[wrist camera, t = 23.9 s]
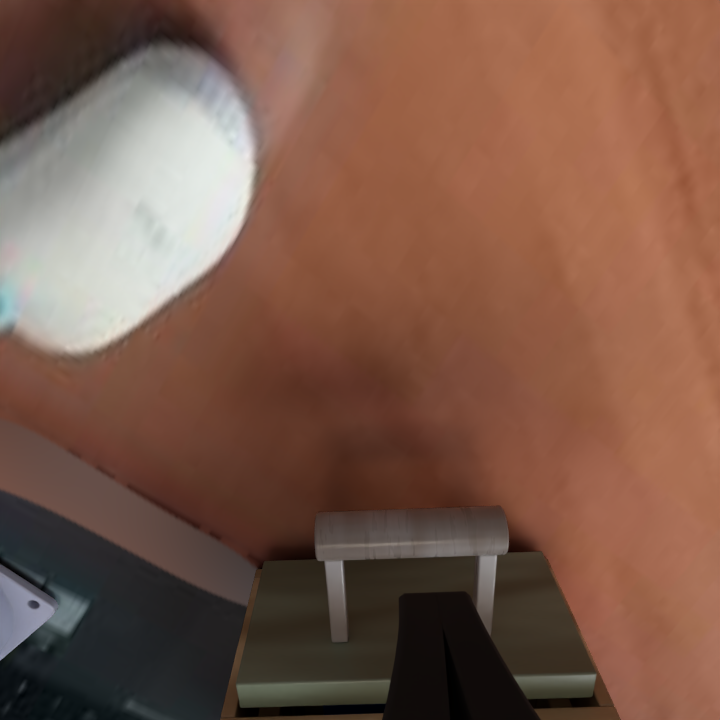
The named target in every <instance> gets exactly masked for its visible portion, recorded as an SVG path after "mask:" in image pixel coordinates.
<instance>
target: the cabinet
mask: <svg viewBox="0 0 720 720" xmlns="http://www.w3.org/2000/svg"><path fill="white" fill-rule="evenodd" d="M546 562H547V564H548V566H549V568H550V570H551V573H552V575H553V577H554V579H555V582H556V584H557V586H558V588H559V590H560V593H561V595H562V597H563V599H564V602H565V604H566V606H567V608H568V610H569V613H570V615H571V617H572V619H573V622H574V624H575V626H576V628H577V630H578V633H579V635H580V637H581V639H582V642H583V644H584V646H585V648H586V650H587V653H588V655H589V657H590V659H591V662H592V664H593V666H594V668H595V670H596V673H597V675H596V681H595V686H594V691H593V696H592V697H586V698H569V700H570V703H571V705H572V708H540V709H534V710H535V712H536V713H537V715H538V716H539V718H540V719H541V720H621V719H620V717H619V715H618V713H617V710H616V708H615V707H614V704H613V702H612V699H611V697H610V695H609V693H608V691H607V688H606V686H605V684H604V682H603V680H602V677H601V675H600V673H599V671H598V669H597V666H596V664H595V662H594V660H593V658H592V655H591V653H590V651H589V649H588V647H587V645H586V642H585V640H584V638H583V636H582V634H581V631H580V629H579V627H578V625H577V623H576V620H575V618H574V616H573V614H572V612H571V609H570V607H569V605H568V603H567V601H566V598H565V596H564V594H563V592H562V590H561V587H560V585H559V583H558V581H557V579H556V576H555V574H554V572H553V570H552V568H551V566H550V563H549V561H548V560H547V559H546ZM261 572H262V569H257V570H256V573H255V579H254V582H253V586H252V590H251V594H250V598H249V602H248V606H247V610H246V614H245V619H244V623H243V627H242V631H241V635H240V639H239V643H238V647H237V651H236V656H235V660H234V664H233V668H232V672H231V676H230V680H229V684H228V688H227V693H226V697H225V701H224V705H223V709H222V713H221V719H220V720H382V718H383V714H384V713H374V714H341V715H308V716H275V717H258V713H259V707H258V708H241V707H240V703H239V698H238V693H237V688H236V681H237V676H238V672H239V668H240V663H241V659H242V655H243V650H244V646H245V642H246V637H247V633H248V629H249V624H250V620H251V615H252V611H253V607H254V602H255V598H256V594H257V589H258V585H259V581H260V576H261Z"/></svg>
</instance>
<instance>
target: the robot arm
mask: <svg viewBox="0 0 720 720" xmlns="http://www.w3.org/2000/svg"><path fill="white" fill-rule="evenodd" d="M57 609H58V603H57V601H56V600H55V599H54V598H52V597H51V596H49V595H48V594H46V593H45V592H43V591H41V590H40V589H38V588H37V587H35V586H34V585H32V584H31V583H29V582H28V581H26V580H25V579H23V578H21V577H20V576H18V575H17V574H15V573H14V572H12V571H11V570H9V569H8V568H6V567H5V566H3V565H2V564H0V660H1V659H2V658H4V657H5V656H6V655H7V654H8V653H9V652H11V651H12V650H13V649H14V648H15V647H17V646H18V645H19V644H20V643H21V642H22V641H24V640H25V639H26V638H27V637H28V636H29V635H31V634H32V633H33V632H34V631H35V630H37V629H38V628H39V627H40V626H41V625H42V624H44V623H45V622H46V621H47V620H48V619H49V618H51V617H52V616H53V615H54V613H55V612H56V610H57ZM382 720H541V719H540V718H539V716H538V715H537V713H536V712H535V710H534V709H533V707H532V706H531V704H530V702H529V701H528V699H527V698H526V696H525V694H524V693H523V691H522V690H521V688H520V686H519V685H518V683H517V681H516V680H515V678H514V677H513V675H512V673H511V672H510V670H509V668H508V667H507V665H506V663H505V662H504V660H503V658H502V657H501V655H500V653H499V651H498V649H497V648H496V646H495V644H494V642H493V641H492V639H491V637H490V635H489V633H488V631H487V629H486V627H485V626H484V624H483V622H482V620H481V618H480V616H479V614H478V612H477V609H476V607H475V605H474V603H473V601H472V598H471V596H470V595H469V594H468V593H467V592H465V591H456V592H427V593H404V594H403V595H401V596H400V597H399V629H398V639H397V646H396V654H395V660H394V666H393V671H392V676H391V681H390V686H389V692H388V697H387V701H386V706H385V710H384V714H383V718H382Z"/></svg>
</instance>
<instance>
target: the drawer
mask: <svg viewBox="0 0 720 720" xmlns="http://www.w3.org/2000/svg"><path fill="white" fill-rule="evenodd" d="M314 538H315V554H316V558H317V559H309V560H280V561H264V563H263V568H262V572H261V576H260V581H259V585H258V589H257V594H256V598H255V602H254V607H253V611H252V615H251V620H250V624H249V629H248V633H247V637H246V642H245V646H244V650H243V655H242V659H241V663H240V668H239V672H238V676H237V681H236V688H237V693H238V698H239V703H240V707H241V708H258V707H259V713H258V717H275V716H308V715H324V713H323V706H324V705H357V704H386V701H387V697H388V692H389V686H390V681H391V676H392V671H393V666H394V660H395V654H396V646H397V639H398V629H399V597H400V596H401V595H403V594H404V593H427V592H456V591H465V592H467V593H468V594H469V595H470V596H471V598H472V601H473V603H474V605H475V607H476V609H477V612H478V614H479V616H480V618H481V620H482V622H483V624H484V626H485V627H486V629H487V631H488V633H489V635H490V637H491V639H492V641H493V642H494V644H495V646H496V648H497V649H498V651H499V653H500V655H501V657H502V658H503V660H504V662H505V663H506V665H507V667H508V668H509V670H510V672H511V673H512V675H513V677H514V678H515V680H516V681H517V683H518V685H519V686H520V688H521V690H522V691H523V693H524V694H525V696H526V698H527V699H528V701H529V702H530V704H531V706H532V707H533V709H540V708H572V705H571V703H570V700H569V698H586V697H592V696H593V691H594V686H595V681H596V675H597V673H596V670H595V668H594V666H593V664H592V662H591V659H590V657H589V655H588V653H587V650H586V648H585V646H584V644H583V642H582V639H581V637H580V635H579V633H578V630H577V628H576V626H575V624H574V622H573V619H572V617H571V615H570V613H569V610H568V608H567V606H566V604H565V602H564V599H563V597H562V595H561V593H560V590H559V588H558V586H557V584H556V582H555V579H554V577H553V575H552V573H551V570H550V568H549V566H548V564H547V562H546V559H545V557H544V555H543V553H542V552H541V551H538V552H509V553H507V552H508V547H509V531H508V524H507V519H506V516H505V513H504V510H503V509H502V507H501V506H473V507H446V508H418V509H391V510H363V511H336V512H318V513H317V514H316V518H315V533H314Z"/></svg>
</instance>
